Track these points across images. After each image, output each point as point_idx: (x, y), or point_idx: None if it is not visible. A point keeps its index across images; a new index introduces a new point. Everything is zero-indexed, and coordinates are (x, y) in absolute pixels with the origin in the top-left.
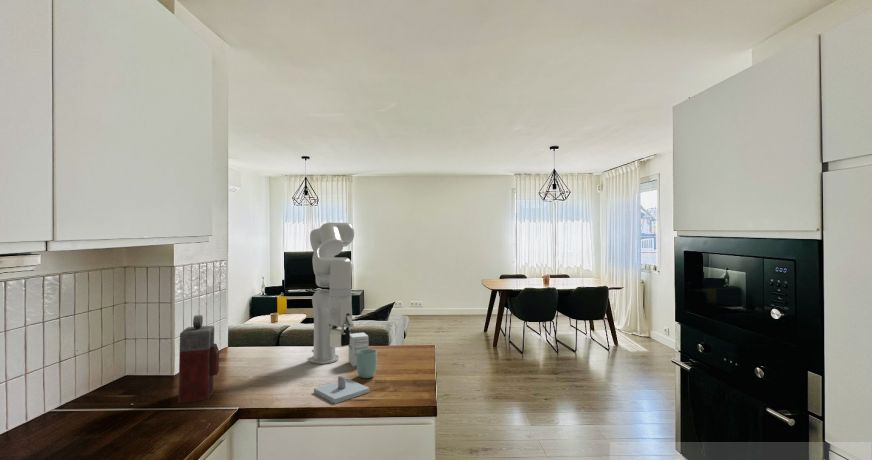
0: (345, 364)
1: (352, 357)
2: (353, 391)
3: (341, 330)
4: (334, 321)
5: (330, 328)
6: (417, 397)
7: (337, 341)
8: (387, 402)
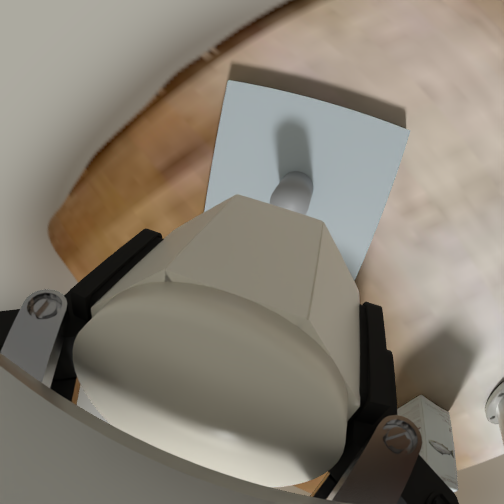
0: (450, 396)
1: (423, 418)
2: (224, 180)
3: (119, 384)
4: (35, 500)
5: (403, 448)
6: (82, 258)
7: (174, 238)
8: (107, 191)
